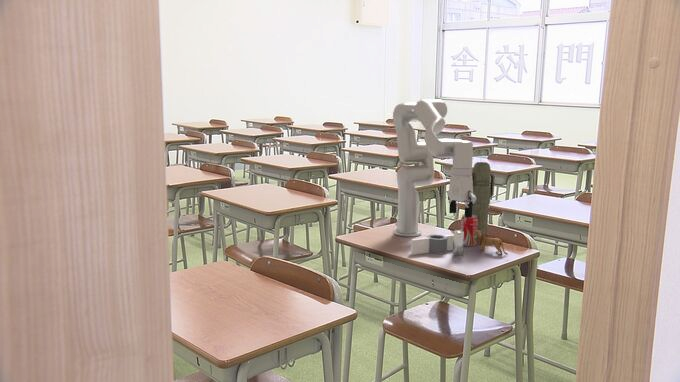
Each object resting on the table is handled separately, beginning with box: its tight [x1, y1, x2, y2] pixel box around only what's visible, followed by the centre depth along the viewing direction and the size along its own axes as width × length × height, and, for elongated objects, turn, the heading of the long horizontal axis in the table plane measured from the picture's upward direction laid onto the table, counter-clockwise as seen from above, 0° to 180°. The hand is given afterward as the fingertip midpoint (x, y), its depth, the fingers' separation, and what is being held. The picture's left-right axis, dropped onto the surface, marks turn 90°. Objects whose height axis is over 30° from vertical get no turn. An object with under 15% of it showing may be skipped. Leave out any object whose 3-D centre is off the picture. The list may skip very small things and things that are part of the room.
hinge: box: [410, 233, 454, 256], centre depth 234 cm, size 8×24×6 cm, turn 116°
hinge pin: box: [452, 229, 464, 258], centre depth 228 cm, size 4×4×10 cm
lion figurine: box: [473, 230, 508, 257], centre depth 233 cm, size 15×5×9 cm, turn 60°
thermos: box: [471, 161, 496, 245], centre depth 249 cm, size 9×12×35 cm
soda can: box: [459, 213, 478, 248], centre depth 244 cm, size 7×7×13 cm
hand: (460, 215), depth 225 cm, fingers open, 9 cm apart
